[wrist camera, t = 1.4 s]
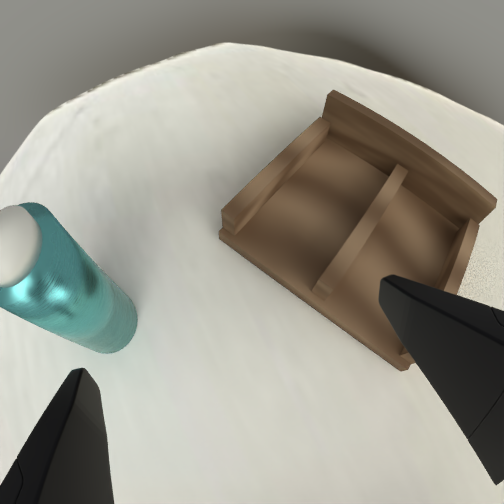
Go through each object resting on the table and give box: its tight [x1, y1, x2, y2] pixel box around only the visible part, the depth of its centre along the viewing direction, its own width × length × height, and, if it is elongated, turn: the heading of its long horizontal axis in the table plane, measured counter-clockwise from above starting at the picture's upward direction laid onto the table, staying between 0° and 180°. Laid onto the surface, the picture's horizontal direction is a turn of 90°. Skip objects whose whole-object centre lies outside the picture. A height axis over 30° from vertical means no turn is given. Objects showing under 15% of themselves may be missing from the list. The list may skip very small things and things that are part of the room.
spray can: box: [0, 203, 137, 354], centre depth 17 cm, size 5×5×14 cm
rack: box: [219, 90, 497, 371], centre depth 24 cm, size 16×18×6 cm
